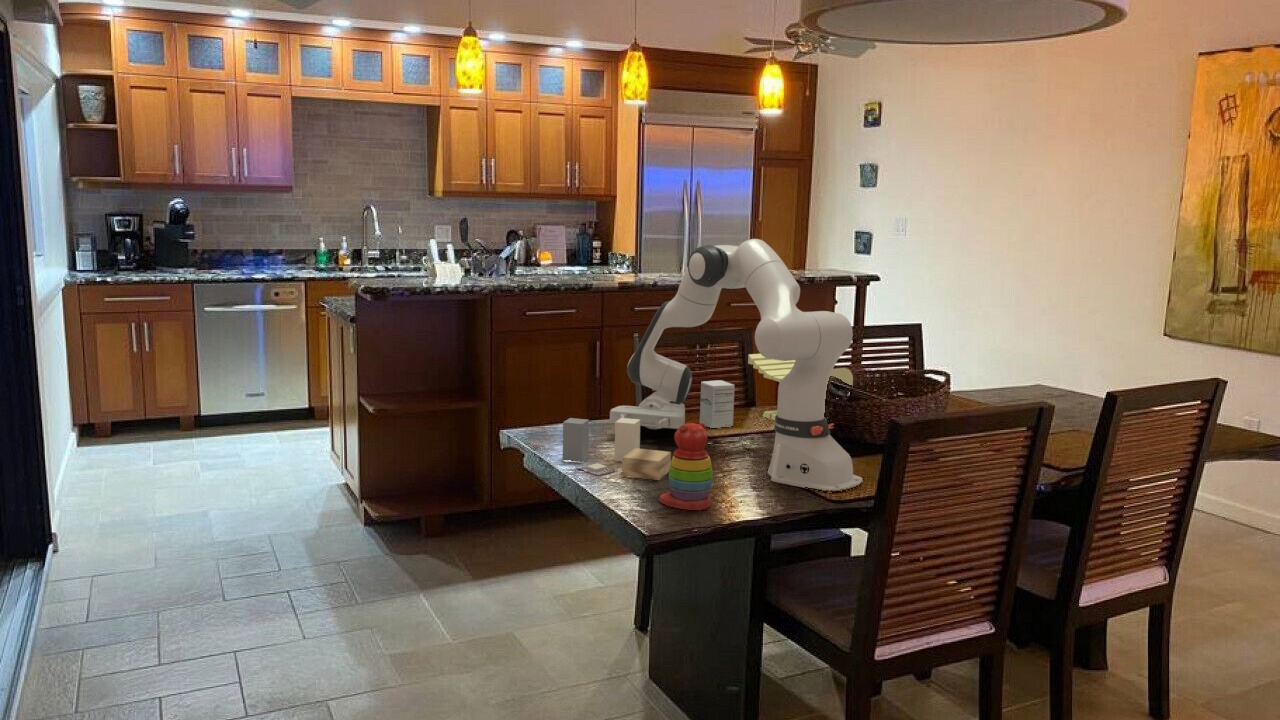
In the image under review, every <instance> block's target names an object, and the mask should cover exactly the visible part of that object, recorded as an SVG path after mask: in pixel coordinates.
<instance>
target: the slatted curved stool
mask: <svg viewBox="0 0 1280 720" xmlns="http://www.w3.org/2000/svg"><path fill="white" fill-rule="evenodd" d="M795 361H796V360H790V361H780V360H774V359H768V358H765V357H764V356H762V355H761V353H751V354H750V353H749V354H748V358H747V364H749V365H753V366H752V368H753V369H756V370H758V372H757V373H759V374H761V375H762V374H763V378H764V379H768V380H772V381H776V382H778V383H780V381H781V380H782V379H783V378H784V377H785V376H786V375H787V374H788V373H789V372H790V371H791V369H792V368H793V366H794V364H795ZM830 376H834V377H836V378H839V379H841V380H842V381H843V382H845V383H847V384H849V385H852V386H853V385H854V377H853V373H852V371H851V370H850V369H849V368H848V367H840V368H833V370H832V372H831V375H830ZM776 415H777V409H773V410H767V411H763V414H762V416H764V417H767V418H771V419H773V420H775V416H776ZM764 417H763V418H764ZM771 419H770V420H771Z"/></svg>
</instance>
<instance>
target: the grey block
mask: <svg viewBox="0 0 1280 720" xmlns="http://www.w3.org/2000/svg"><path fill="white" fill-rule="evenodd" d="M589 422H590V419H585V418H575V417H570V418H568V419H566V420H564V421H563V422H562V461H563V460H571V461H580V462H582V461H584V460H585V459H586V458H588V457H589V452H590V451H589V449H590V448H589V447H590V446H589V444H590V443H589V442H590V439H589V438H590V436H589V435H590V433H589V432H590V423H589Z"/></svg>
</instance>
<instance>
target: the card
mask: <svg viewBox="0 0 1280 720" xmlns="http://www.w3.org/2000/svg"><path fill="white" fill-rule="evenodd" d="M595 463H596V464H592V463H591V464H592V465H588V464H587V465H588V466H586V468H587V469H591V470H594V471H600V470H604V469H606V470H607V471H610V472H611V471H615V470H617V469H616V468H612V467H609V466H607V465H603V464H601V463H598V462H595ZM607 468H608V469H610V470H608V469H607ZM604 472H606V471H604ZM606 473H607V472H606Z"/></svg>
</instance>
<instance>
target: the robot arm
mask: <svg viewBox="0 0 1280 720" xmlns="http://www.w3.org/2000/svg"><path fill="white" fill-rule="evenodd" d="M743 288H745V289H746V290H747V292H748V295H750V297H751V299H752V300H753V302H754V304H755V305H756V307H757V309H758V311H759V314H760V321H759V322H758V324H757V326H756V329H755V332H754V343H755V346H756V349H757V351H758V352H759V354H761V355H762V356H764V357H765V358H768V359H774V360H780V361H790V360H796V361H795V364H794V366H793V368H792V369H791V371H790V372H789V373H788V374H787V375H786V376H785V377H784V378H783V379H782V380H781V381H780V382H778V383H779V384H778V387H777V388H778V389H777V408H776V410H777V415H776V416H775V421H774V433H775V438H774V445H773V449H772V450H773V451H772V456H771V459H770V460H771V461H770V464H769V467H768V469H767V474H768V476H770V481H772V482H775V483H778V484H783V485H788V486H794V487H800V488H804V489H806V488H805V487H808V488H816V489H822V490H829V491H830V490H840V489H846V488H850V487H853V486H856V485H858V484H860V483H861V482H862V483H863V477H861V476H859V475H856V474H854V468H853V467H854V466H853V460H852V457H851V456H850V454H849V453H848V452H847V451H846V450H845V449H844V448H843V446H841V445H840V444H839V443H838V442H837V441H836V440H835V439H834V438H833V436H832V435H831V431H830V429H834V428H835V427H834V425H835V424H834V422H832V423H829V424H828V420H827V419H826V418H825V417H824V413H825V399H826V390H827V384H828V381H829V377H830V375H831V372H832V370H833V369H835V368H834V367H835V365H836V363H837V362H838V361H839V358H840V357H842V355H843V354H844V353H845V352H846V351H847V350H848V349H849V347H850V346H851V344H852V341H853V336H854V335H853V326H852V324H851V321H850V320H849V319H848V317H847V316H845V315H843V314H842V313H838V312H835V311H834V312H832V311H827V310H818V311H802V310H801V309H799V308H798V307H797V304H798V302H799V299H800V295H801V287H800V284H799V283H798V282H797V280H796V279H795V277H794V276H793V274H792V273H791V271H790V269H789V268H788V266H787V265H786V264H785V262H784V260H783V259H781V258H780V256H779V255H778V254H777V253H776V251H775V250H774V249H773V248H772V246H770V245H769V244H767V242H765V241H764V240H763V239H759V238H751V239H747V240H745V241H743V242H741V243H740V244H739V245H730V244H717V245H710V244H708V245H702V246H698V247H696V248H694V249H693V251H692V252H691V254H690V255H689V258H688V263H687V267H686V269H685V272H684V274H683V275H682V278H681V280H680V283H679V286H678V290H677V292H676V294H675V296H674V297H673V298H672V299H671V300H669V301H668V300H667V301H664V302H663V303H662V304H661V306H659V308H658V309H657V310H656V312H655V314H654V315H653V317H652V320H651V322H650V323H649V325H648V327H647V329H646V331H645V333H644V335H643V337H642V338H641V341H640V342H639V344H638V346H637V348H636V350H635V352H634V353H633V354H632V356H631V357H630V359H629V360H628V363H627V368H626V373H627V375H628V377H629V379H630V381H631V382H632V383H633V384H637V385H640V386H644V387H647V388H649V389H651V390H654V391H653V393H651V394H650V395H649V396H647V397H646V398H644V399H643V400H642V401H641V402H640V403H639V404H638V406H636V405H635V406H633V405H618V406H615V407H614V408H613V407H612V408H611V409H610V411H609V421H610V423H612V424H615V422H616V421H618V420H619V419H620V418H629V419H640V427H641V426H642V427H645V428H647V429H649V430H658V429H659V430H660V429H674V430H678V429H679V427H681V426H682V425H684V424H686V423H685V421H686V406H685V404H684V402H685V401H686V399H687V398H688V396H689V393H690V391H691V388H692V385H693V375H692V371H691V369H690V367H689V366H688V365H686V364H684V363H681V362H679V361H676V360H674V359H670V358H668V357H665V356H663V355H661V354H659V353H657V352H656V351H655V347H656V345H657V343H658V341H659V339H660V337H661V336H662V334H663V333H664V332H663V331H664V330H665V329H668V328H669V329H670V328H694V327H699V326H702V325H703V324H706V323H707V322H708V321H709V320H710V319H711V318H712V316H713V313H714V312H715V309H716V306H717V304H718V301H719V297H720V294H721V291H722V289H729V290H732V289H734V290H735V289H743ZM808 488H807V489H808Z"/></svg>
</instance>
